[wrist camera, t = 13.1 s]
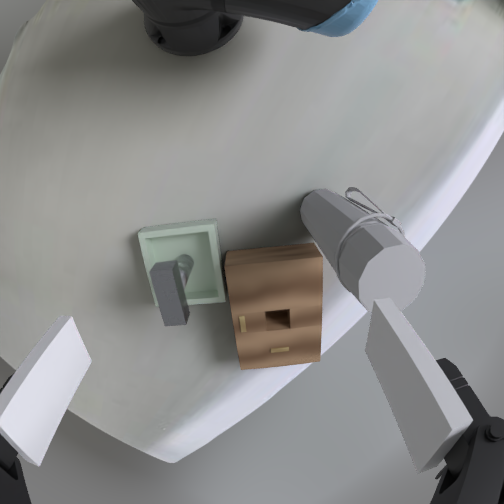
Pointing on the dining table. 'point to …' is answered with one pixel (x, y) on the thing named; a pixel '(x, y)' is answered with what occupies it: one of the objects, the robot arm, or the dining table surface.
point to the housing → (276, 304)
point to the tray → (195, 245)
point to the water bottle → (364, 248)
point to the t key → (172, 288)
